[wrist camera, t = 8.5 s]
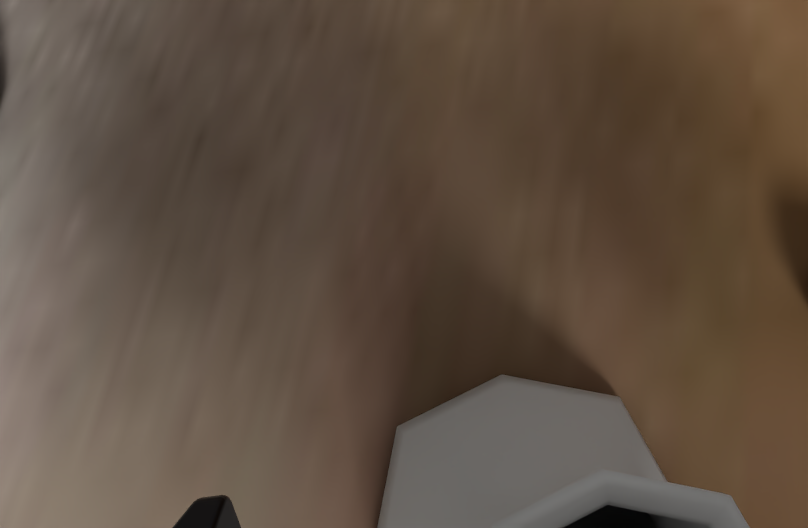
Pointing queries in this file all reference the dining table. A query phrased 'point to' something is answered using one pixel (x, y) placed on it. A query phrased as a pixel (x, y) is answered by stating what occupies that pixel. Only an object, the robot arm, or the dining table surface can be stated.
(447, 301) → the dining table surface
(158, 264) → the dining table surface
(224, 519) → the robot arm
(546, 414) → the flask
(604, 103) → the dining table surface
